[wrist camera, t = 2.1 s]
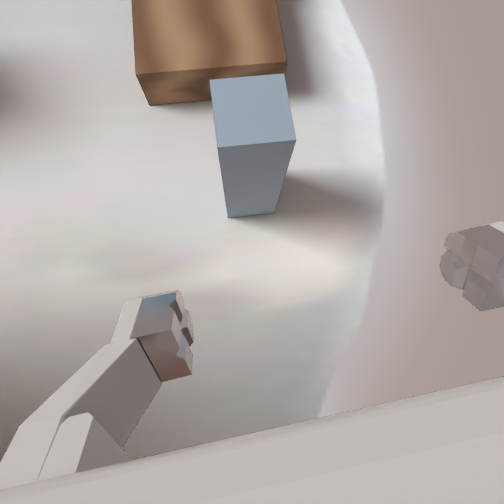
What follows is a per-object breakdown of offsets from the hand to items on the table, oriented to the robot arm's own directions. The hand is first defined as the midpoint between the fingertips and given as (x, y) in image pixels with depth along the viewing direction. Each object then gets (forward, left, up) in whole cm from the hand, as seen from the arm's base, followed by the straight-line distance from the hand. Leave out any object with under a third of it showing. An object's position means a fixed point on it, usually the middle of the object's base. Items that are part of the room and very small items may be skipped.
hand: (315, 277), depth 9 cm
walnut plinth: (-2, +29, -18) cm, 34 cm away
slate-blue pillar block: (0, +11, -18) cm, 21 cm away
